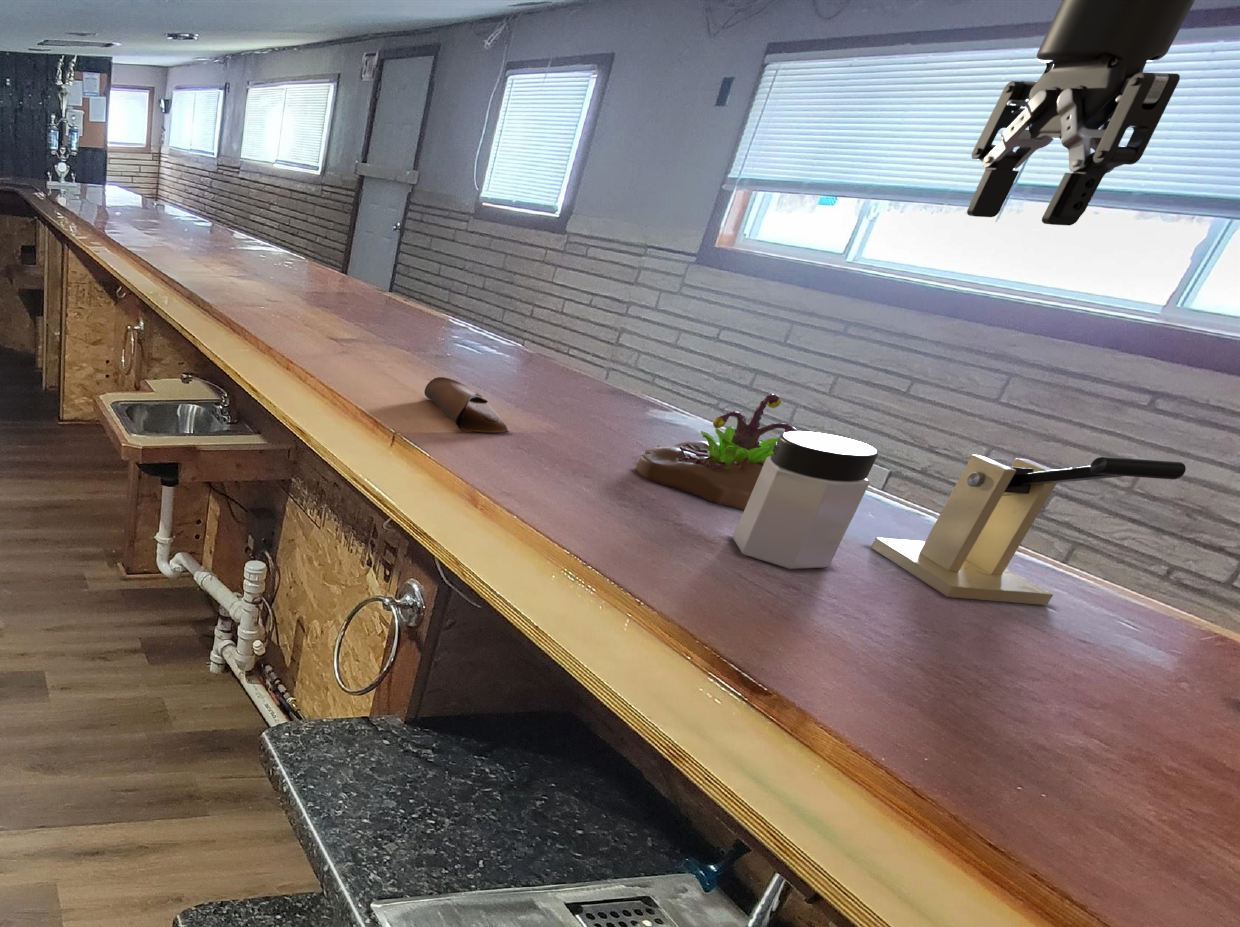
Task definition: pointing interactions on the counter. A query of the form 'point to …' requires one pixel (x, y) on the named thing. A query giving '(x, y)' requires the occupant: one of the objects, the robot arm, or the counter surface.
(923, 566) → the bracket
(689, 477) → the plant
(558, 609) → the counter surface
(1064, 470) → the lever
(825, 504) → the jar
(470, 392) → the sunglasses case
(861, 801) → the counter surface
